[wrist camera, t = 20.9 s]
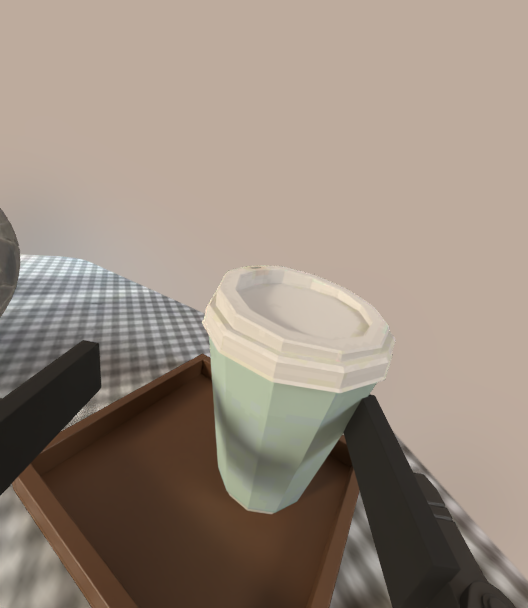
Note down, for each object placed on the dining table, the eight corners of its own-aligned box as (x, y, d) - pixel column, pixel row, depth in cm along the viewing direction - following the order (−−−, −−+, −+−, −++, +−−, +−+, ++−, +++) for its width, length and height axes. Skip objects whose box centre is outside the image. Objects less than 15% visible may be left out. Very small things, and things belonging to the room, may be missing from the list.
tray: (359, 471, 22) (369, 450, 21) (254, 851, 9) (269, 840, 8) (200, 371, 30) (202, 353, 29) (13, 489, 17) (5, 461, 16)
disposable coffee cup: (353, 487, 20) (438, 315, 15) (248, 620, 13) (336, 378, 7) (262, 401, 27) (296, 260, 21) (159, 456, 20) (169, 264, 14)
